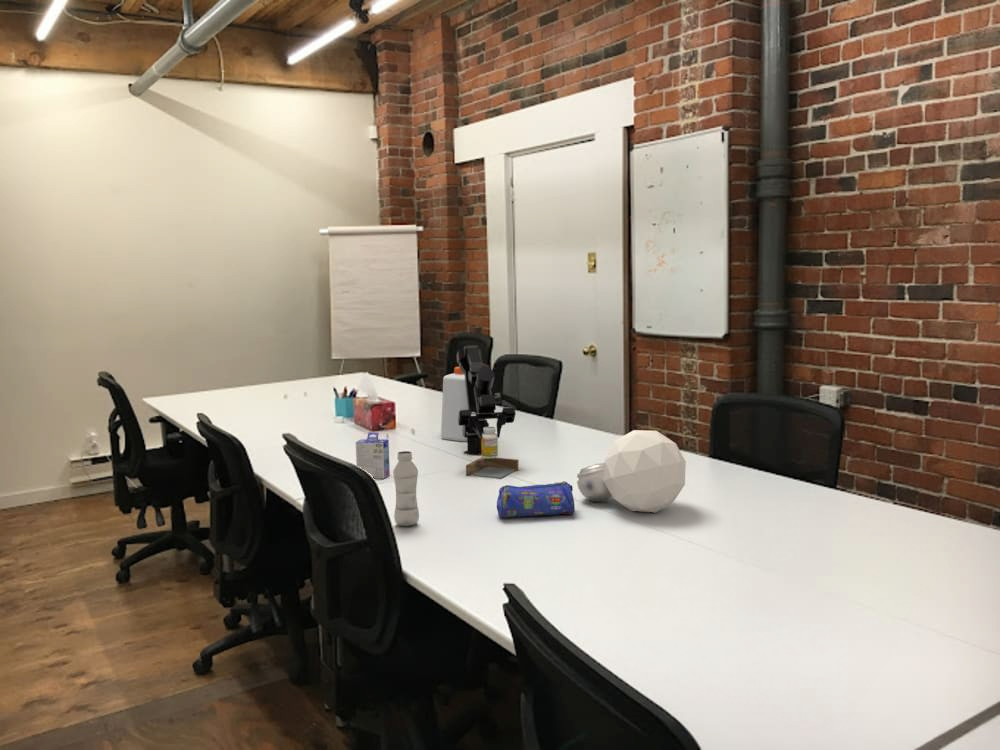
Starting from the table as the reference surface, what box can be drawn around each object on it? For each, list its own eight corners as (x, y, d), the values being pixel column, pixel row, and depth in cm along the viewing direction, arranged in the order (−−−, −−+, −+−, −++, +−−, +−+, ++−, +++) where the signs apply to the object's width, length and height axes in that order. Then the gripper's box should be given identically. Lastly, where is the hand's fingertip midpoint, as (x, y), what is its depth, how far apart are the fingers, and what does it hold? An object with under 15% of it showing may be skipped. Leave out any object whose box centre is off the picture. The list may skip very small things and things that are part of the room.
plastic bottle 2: (490, 435, 338) (488, 365, 334) (468, 443, 326) (466, 370, 322) (459, 432, 346) (457, 363, 342) (436, 439, 334) (434, 368, 330)
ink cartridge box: (390, 474, 282) (389, 432, 280) (385, 479, 276) (383, 435, 274) (362, 473, 284) (360, 431, 282) (356, 478, 278) (354, 434, 276)
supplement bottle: (483, 454, 283) (482, 425, 282) (499, 454, 282) (498, 426, 281) (480, 458, 278) (479, 429, 277) (496, 458, 277) (495, 429, 276)
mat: (485, 467, 288) (485, 466, 288) (515, 470, 284) (515, 469, 283) (470, 475, 278) (470, 474, 278) (501, 479, 274) (501, 477, 274)
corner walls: (483, 466, 290) (483, 456, 290) (518, 469, 285) (518, 459, 284) (466, 475, 279) (465, 465, 278) (501, 479, 273) (501, 468, 273)
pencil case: (572, 509, 241) (572, 476, 240) (578, 518, 233) (578, 484, 231) (495, 513, 238) (494, 480, 237) (498, 523, 230) (498, 488, 229)
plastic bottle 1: (394, 521, 232) (392, 450, 229) (419, 520, 233) (417, 449, 230) (394, 529, 226) (391, 456, 223) (419, 528, 226) (417, 455, 224)
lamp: (671, 510, 219) (648, 421, 223) (569, 532, 240) (550, 451, 244) (711, 499, 236) (689, 417, 240) (612, 521, 257) (594, 445, 261)
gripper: (458, 386, 279) (463, 426, 270) (514, 383, 282) (521, 422, 273) (455, 405, 288) (461, 444, 279) (509, 402, 291) (516, 441, 282)
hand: (490, 437), depth 278 cm, fingers closed on supplement bottle, 5 cm apart
